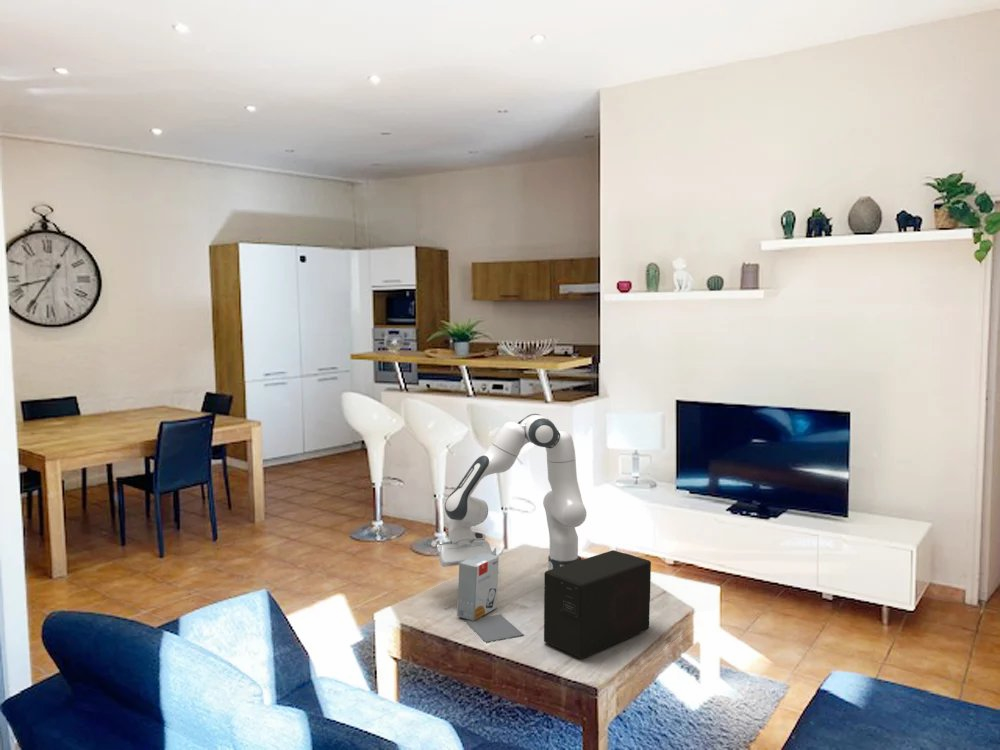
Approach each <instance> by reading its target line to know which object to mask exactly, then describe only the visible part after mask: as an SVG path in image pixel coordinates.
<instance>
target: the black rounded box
mask: <svg viewBox="0 0 1000 750" xmlns="http://www.w3.org/2000/svg"><path fill="white" fill-rule="evenodd" d="M651 568H652V561H651V560H649V559H645V558H643V557H639V556H635V555H633V554H630V553H626V552H625V553H624V552H621V551H617V550H615V549H612V550H609V551H606V552H602V553H599V554H596V555H594V556H591V557H585V559H583V560H580V561H577V562H574V563H570V564H567V565H564V566H561V567H558V568H554V569H551V570H548V569H547V570H546V571H545V572H544V583H543V585H544V588H543V589H544V593H543V595H544V596H543V597H544V598H543V599H544V600H543V604H544V605H543V606H544V607H543V614H544V615H543V642H544V643H546V644H549V645H551V646H553V647H555V648H557V649H559V650H562V651H564V652H565V653H568V654H571V655H573V656H575V657H577V658H579V659H584V658H586V657H589V656H590V655H593V654H595V653H597V652H599V651H602V650H604V649H606V648H608V647H611V646H614V645H616V644H617V643H620V642H623V641H625V640H627V639H630V638H631V637H633V636H636V635H638V634H641V633H643V632H645V631H647V630H649V629H650V614H651V613H650V610H651V609H650V607H651V603H650V602H651V579H652V577H651V576H652V575H651V574H652V571H651V570H652V569H651Z"/></svg>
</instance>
